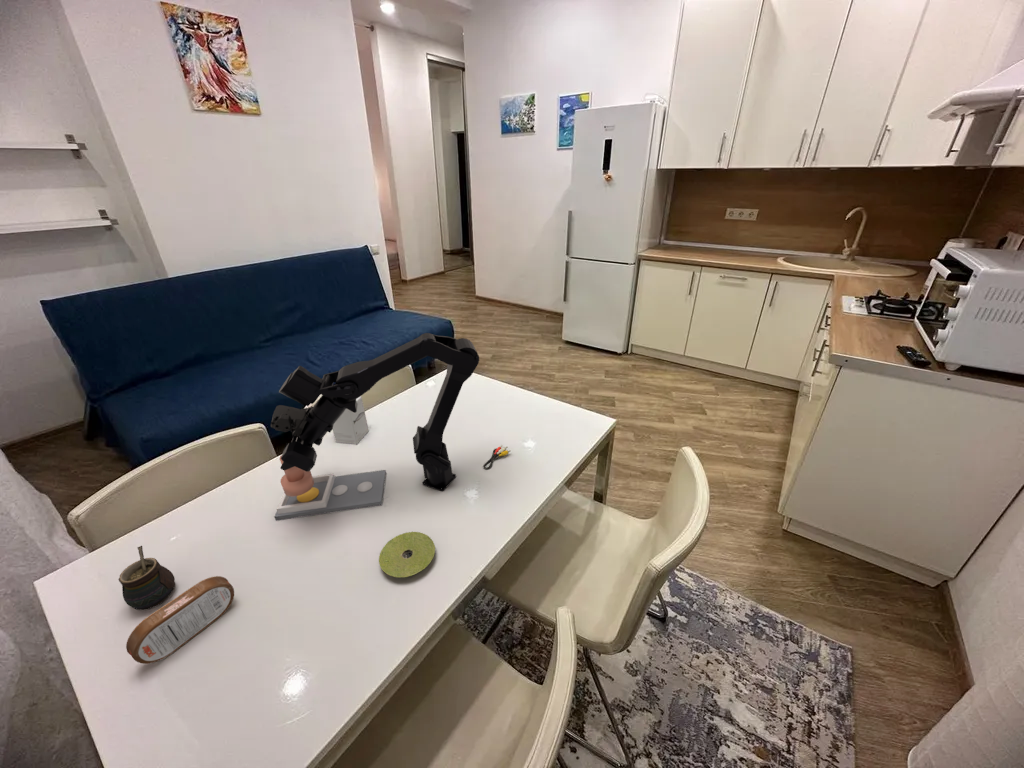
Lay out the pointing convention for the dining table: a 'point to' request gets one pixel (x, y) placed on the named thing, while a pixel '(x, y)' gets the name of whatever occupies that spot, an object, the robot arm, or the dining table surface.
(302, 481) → the pink flanged peg
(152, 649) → the tin
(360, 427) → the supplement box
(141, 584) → the mate gourd
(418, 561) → the green disc
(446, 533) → the dining table surface
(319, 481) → the station board
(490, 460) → the composite cable
